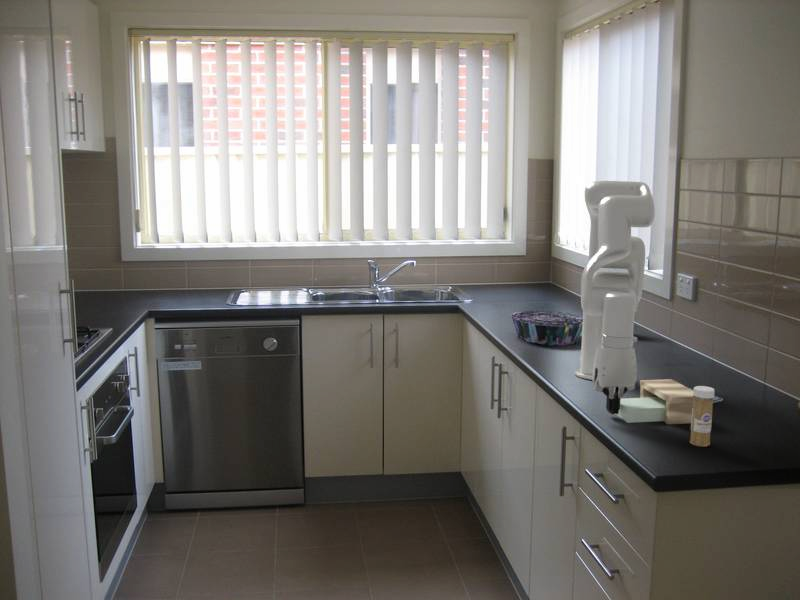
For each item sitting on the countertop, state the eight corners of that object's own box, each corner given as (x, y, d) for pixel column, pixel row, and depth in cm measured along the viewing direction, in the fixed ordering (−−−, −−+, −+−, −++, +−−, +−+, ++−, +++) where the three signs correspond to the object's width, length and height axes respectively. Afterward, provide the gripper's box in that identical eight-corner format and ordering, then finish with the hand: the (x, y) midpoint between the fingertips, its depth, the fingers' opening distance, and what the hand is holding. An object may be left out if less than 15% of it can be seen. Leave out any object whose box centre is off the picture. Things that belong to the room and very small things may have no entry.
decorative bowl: (561, 335, 321) (562, 308, 320) (601, 345, 295) (601, 317, 294) (500, 338, 313) (500, 311, 312) (535, 349, 287) (535, 320, 286)
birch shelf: (638, 405, 225) (640, 380, 224) (669, 404, 227) (671, 379, 226) (669, 424, 210) (671, 397, 209) (702, 423, 212) (704, 396, 210)
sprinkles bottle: (699, 448, 193) (703, 391, 191) (685, 442, 197) (689, 386, 195) (714, 445, 195) (719, 389, 193) (700, 439, 199) (704, 384, 197)
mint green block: (611, 411, 220) (612, 398, 219) (668, 409, 223) (669, 396, 222) (627, 422, 211) (628, 409, 210) (686, 419, 214) (687, 406, 213)
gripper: (637, 338, 217) (633, 407, 220) (582, 339, 214) (579, 409, 217) (651, 344, 210) (647, 415, 213) (595, 345, 207) (591, 418, 210)
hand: (612, 412), depth 215 cm, fingers closed
